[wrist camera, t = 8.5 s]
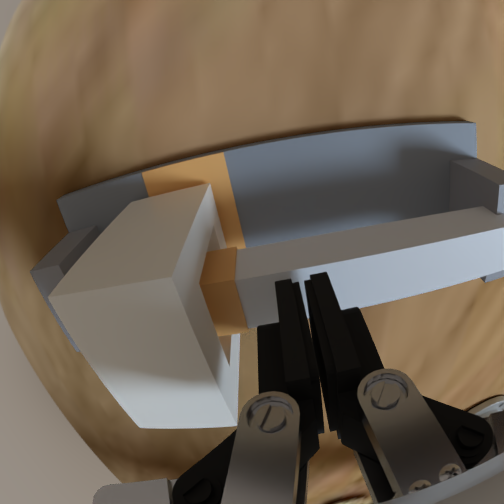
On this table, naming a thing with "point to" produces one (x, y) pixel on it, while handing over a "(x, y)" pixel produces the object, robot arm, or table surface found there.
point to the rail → (319, 217)
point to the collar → (154, 313)
